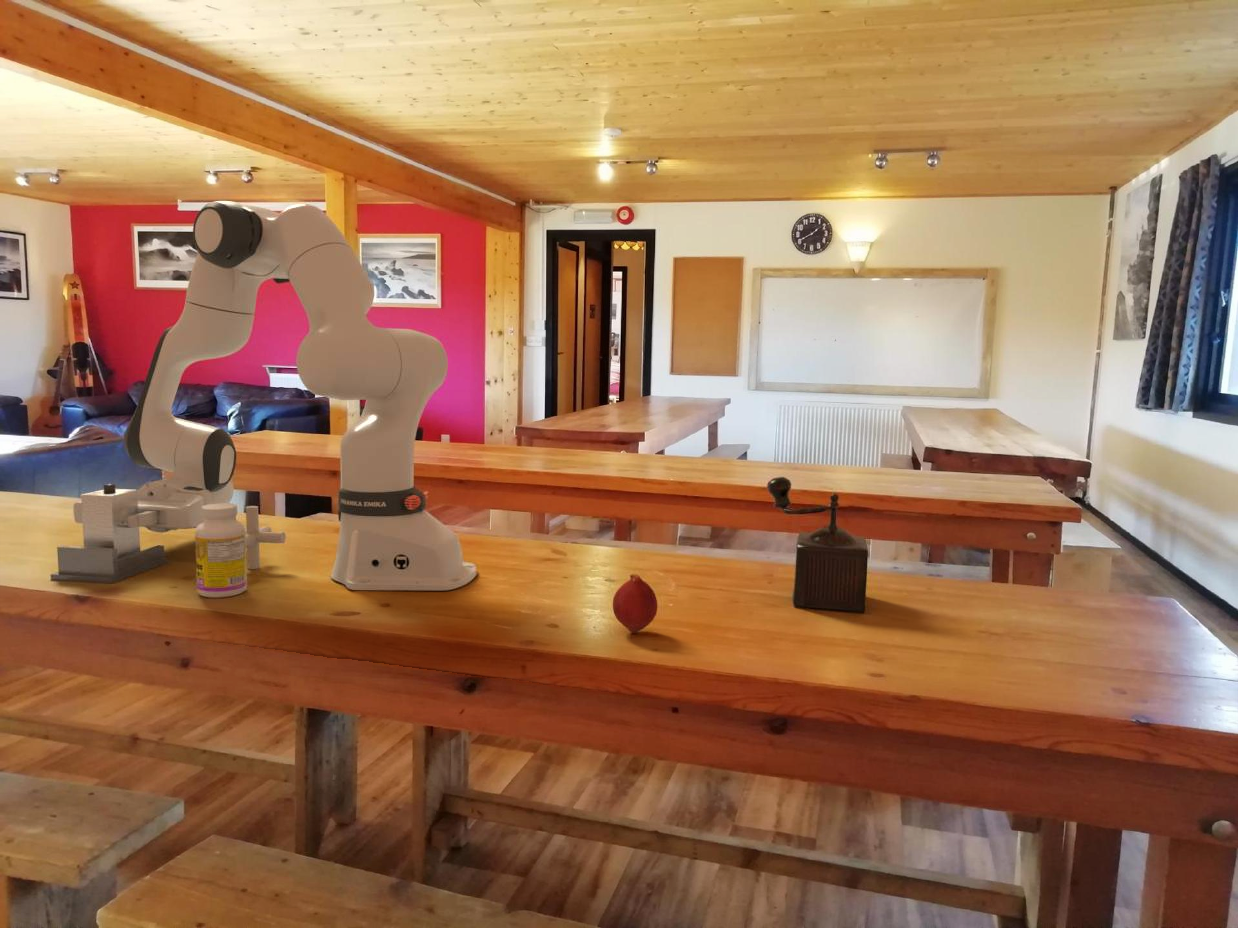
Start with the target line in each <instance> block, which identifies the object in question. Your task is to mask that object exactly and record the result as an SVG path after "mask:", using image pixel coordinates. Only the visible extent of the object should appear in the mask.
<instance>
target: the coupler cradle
mask: <svg viewBox="0 0 1238 928" xmlns="http://www.w3.org/2000/svg"><path fill="white" fill-rule="evenodd" d="M56 549H57V550H56V552H57V569H58V571H57V572H53V573H51V574H50V580H52V581H53V580H54V581H66V582H67V581H69V582H70V581H71V582H82V583H83V582H84V583H99V584H100V583H102V584H103V583H104V584H114V583H117V582H120V581H123V580H125V579H128V578H130V577H132V576H136V575H138V574H141V573H143V572H146V571H149V570H151V569H154V568H157V567H159V566H162V565H164V564H168V557H165V546H164V545H162V544H161V545H159V544H157V545H154V546H152V547H149V548H145V549H143V550H140V552H137V553H134V554H131V555H128V556H125V557H123V558H120V559H118V558H117V549H113V548H96V547H84V546H74V545H59V546H57V547H56ZM140 572H141V573H140Z"/></svg>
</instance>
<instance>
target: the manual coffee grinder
mask: <svg viewBox="0 0 1238 928" xmlns="http://www.w3.org/2000/svg"><path fill="white" fill-rule="evenodd" d="M791 489H792V482H791V480H790V479H789V478H787V477H785V476H780V477H779V476H777V477H774V478H773V477H772V479H771V480H769V481H768V482H767V485H766V490H767V492H768V493H770V495H771V496H772V498H773V500H774V503H773V507H774V508H779V509H780V511H781V512H783V514H785V515H807V514H808V515H809V514H818V513H825V511H829V510H830V516H829V517H830V518H829V519H830V520H829V524H828V525H823V526H822V527H821V528H818V529H816V530H814V531H812V532H803V531H799V533H798V535H797V538H796V544H795V547H796V553H795V566H794V582H793V590H792V597H791V599H792V600H791V601H792V604H793V607H794V608H797V609H804V610H814V611H822V612H823V611H826V612H835V613H850V614H851V613H852V614H865V611H866V608H867V607H866V606H867V605H866V595H867V580H868V579H867V578H868V577H867V576H868V560H869V559H868V558H869V556H868V555H869V548H868V544H867V540H866V537H865V536H857V535H853V534H852V533H850V532H849V531H847V530H845V529H844V528H843V527H840V526H837V513H838V509H839V508H840V504H839V500H840V499H839V498H840V496H839V495H838V493H836V492H835V493H832V494H831V495H830V497H829V499H830V502H829V505H824V506H816V507H806V508H804V507H802V508H789V506H790V505H792V503H793V502H792V501H791V499H790V497H789V494H790V491H791Z"/></svg>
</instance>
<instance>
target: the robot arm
mask: <svg viewBox="0 0 1238 928" xmlns="http://www.w3.org/2000/svg"><path fill="white" fill-rule="evenodd" d="M192 237H193V243H194V245H195V249H196V251H197V254H196V255H197V256H196V258H195V260H194V263H193V266H192V269H191V273H190V276H189V280H188V285H187V289H186V294H185V302H184V308H183V309H182V310H183V311H182V313H181V315H180V317H179V319H178V320H177V321H176V323H175V324H174V325H173V326H170V327H168V328H166V329H165V330H164V331H163V333H162V334H161V336H160V338H159V339H158V342H157V344H156V347H155V350H154V352H153V355H152V358H151V361H150V364H149V368H148V370H147V373H146V376H145V381H144V383H143V387H142V389H141V393H140V396H139V399H138V403H137V406H136V408H135V411H134V413H133V415H132V417H131V419H130V421H129V422H128V424H127V427H126V429H125V432H124V435H123V446H124V449H125V451H126V453H127V455H128V457H129V458H130V460H131V461H132V462H133V464H135V465H136V466H138V467H142V468H143V467H144V468H148V469H149V468H150V469H156V470H163V471H167V472H171V473H173V475H172V476H170V477H168V478H163V479H159V480H155V481H151V482H148V483H146V484H143V485H142V486H141V487H140V488H139V489H137V492H138V512H139V514H135V515H127V516H123V518H122V521H123V523H122V525H123V527H127V528H134V527H137V526H139V528H142V527H143V528H146V529H147V530H149V531H151V532H153V533H160V534H161V533H167V532H171V531H177V530H188V529H189V530H190V529H196V528H197V526H198V525H200V524H201V523H203V522H204V518H203V516H202V510H201V508H202V506H205V505H209V504H218V503H231V501H232V499H233V497H234V491H235V490H234V488H235V487H234V483H233V481H232V478H233V474H234V471H235V468H236V463H237V450H236V447H235V444H234V441H233V439H232V437H231V435H230V434H229V433H228V432H227V431H226V430H225V429H223V428H219V427H216V426H212V425H208V424H204V423H201V422H195V421H191V420H186V419H183V418H179V417H175V416H174V415H173V412H172V408H173V404H174V401H175V398H176V394H177V392H178V388H179V385H180V383H181V379H182V376H183V374H184V372H185V370H186V369H188V367H189V366H190V365H192V364H193V363H196V362H199V361H207V360H213V359H221V358H224V357H225V358H226V357H228V356H230V355H233V354H236V353H237V352H239V351H240V350H241V349H243V348H244V347H245V346H246V344H247V343H248V341H249V340H250V337H251V334H252V330H253V327H254V320H255V313H256V304H257V297H258V292H259V291H258V290H259V288H260V286H261V285H262V284H263V283H264V282H266V281H267V280H270V279H272V280H273V281H274V283H276V284H283V283H284V284H285V283H290V284H291V286H292V287H293V289H294V291H295V294H296V295H297V297H298V299H299V301H300V303H301V305H302V307H303V309H304V311H305V313H306V317H307V319H308V324H309V331H308V334H306V336H305V337H304V338H303V339H302V341H301V343H300V345H299V347H298V349H297V352H296V353H297V354H296V360H295V361H296V370H297V374H298V376H299V378H300V381H301V382H302V384H303V385H304V387H305V388H306V389H307V390H308V391H309V392H311V393H312V394H314V395H316V396H320V397H324V398H329V399H334V400H341V401H353V400H354V401H358V400H359V401H361V400H365V404H364V407H363V410H362V413H361V414H360V417H359V418H358V420H357V421H356V422H355V423H354V424H353V425H352V426H351V427H350V428H348V429H347V430H346V431H345V432H344V434H343V435H342V437H341V440H340V445H339V446H340V448H339V449H340V486H339V488H337V515H338V522H339V533H338V534H339V536H338V541H337V542H338V543H337V549H336V550H337V551H336V556H335V559H334V565H333V566H332V567H333V568H332V571H331V574H330V577H331V579H333V581H336V582H339V583H341V584H343V585H345V586H346V588H347V590H352V591H450V590H454V589H458V588H460V587H463V586H465V585H467V584H469V583H470V582H471V581H472V580H473V579H474V578H475V577H476V576H477V567H476V565H475V564H474V563H472V562H466V561H464V559H463V558H464V557H463V550H462V546H461V542H460V539H459V537H458V535H457V533H455V532H454V531H453V530H451V529H449V528H448V527H447V526H446V525H445V524H443V523H442V522H441V521H440V520H439V519H437V518H436V517H434V516H433V515H432V514H430V513H429V512H428V511H427V510H426V499H428V498H429V496H427V495H428V494H429V491H428V490H426V491H424V492H422V490H420V489H419V488H418V487H417V486H415V485H414V475H415V473H414V471H415V470H414V468H415V466H414V463H415V442H416V437H417V431H418V427H419V425H420V424H419V423H420V420H421V419H422V415H423V413H424V410H425V407H426V405H427V404H428V402H429V400H430V398H431V397H432V395H433V394H434V393H436V391H437V390H438V389H439V388H440V387H441V386H442V385H443V383H444V382H445V380H446V377H447V374H448V369H449V360H448V355H447V352H446V349H445V348H444V345H443V343H441V341H440V340H439V339H438V338H436V337H435V336H432V335H430V334H428V333H424V332H421V331H417V330H414V329H409V328H391V327H390V328H389V327H379V326H375V325H374V324H373V323H371V322H370V320H369V319H368V317H367V314H368V313H369V311H370V310H371V308H372V307H373V306H372V305H373V303H374V298H375V287H374V285H373V283H372V281H371V279H370V277H369V276H368V274H367V272H366V271H365V269H364V267H363V265H362V264H361V262H360V260H359V258H358V256H357V255H356V254H355V252H354V250H353V247H352V246H351V245H350V243H349V241H348V239H346V237H345V236H344V233H342V231H341V230H340V229H339V227H338V226H337V225H336V224H335V223H334V221H333V220H332V219H331V218H330V217H329V216H328V215H327V214H326V213H325V211H324V210H322V209H321V208H319V207H318V206H315V205H312V204H309V203H306V204H305V203H298V204H293V205H290V206H289V207H286V208H284V209H283V210H282V211H280V212H278V211H274V210H271V209H268V208H264V207H260V206H256V205H255V206H254V205H248V204H247V205H246V204H241V203H239V202H236V201H230V200H217V201H211V202H208V203H206V204H205V205H204V206H203V207H201V209H200V211H199V212H198V213H197V214H196V217H195V219H194V223H193V228H192ZM72 511H73V518H74V519H73V520H74V522H75V523H77V524H81V525H83V522H82V505H81V499H80V500H76V501H74V503H73V510H72Z"/></svg>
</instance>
